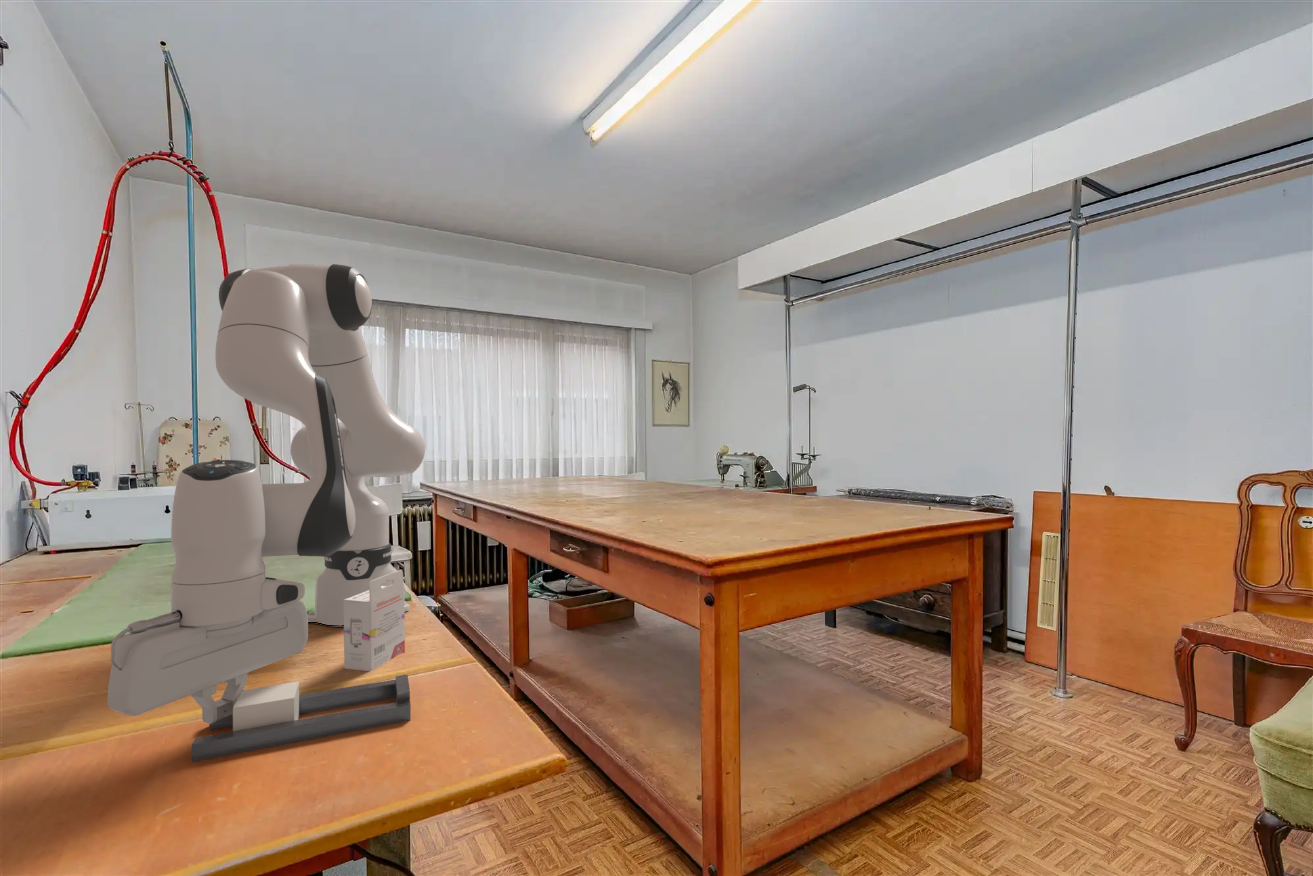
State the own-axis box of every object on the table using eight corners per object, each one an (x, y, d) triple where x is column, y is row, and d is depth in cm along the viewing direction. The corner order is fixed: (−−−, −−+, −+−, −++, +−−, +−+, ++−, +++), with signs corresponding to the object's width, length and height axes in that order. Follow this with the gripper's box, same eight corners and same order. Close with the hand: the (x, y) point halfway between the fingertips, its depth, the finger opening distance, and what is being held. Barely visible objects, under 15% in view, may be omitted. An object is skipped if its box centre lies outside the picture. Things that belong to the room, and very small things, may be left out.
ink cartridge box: (379, 654, 97) (379, 566, 97) (405, 657, 96) (406, 568, 96) (341, 675, 89) (342, 579, 89) (370, 678, 88) (370, 581, 88)
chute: (212, 733, 72) (212, 701, 71) (406, 698, 81) (407, 670, 81) (191, 771, 63) (191, 735, 63) (410, 728, 73) (410, 696, 73)
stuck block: (241, 726, 71) (241, 690, 71) (299, 716, 74) (299, 681, 74) (232, 746, 67) (232, 707, 67) (294, 734, 69) (294, 697, 69)
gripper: (131, 631, 57) (131, 771, 57) (316, 582, 76) (316, 686, 77) (92, 624, 59) (92, 759, 60) (281, 577, 79) (281, 679, 79)
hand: (220, 717), depth 68 cm, fingers closed
